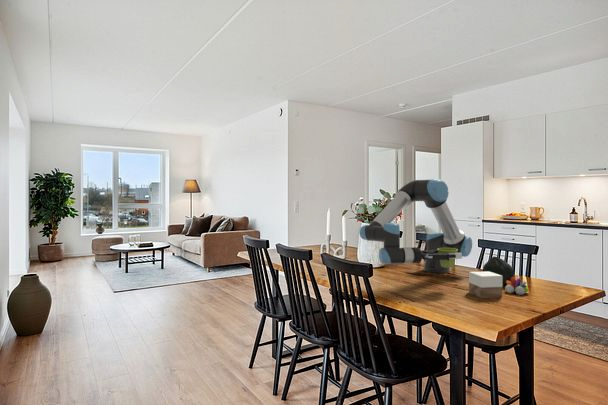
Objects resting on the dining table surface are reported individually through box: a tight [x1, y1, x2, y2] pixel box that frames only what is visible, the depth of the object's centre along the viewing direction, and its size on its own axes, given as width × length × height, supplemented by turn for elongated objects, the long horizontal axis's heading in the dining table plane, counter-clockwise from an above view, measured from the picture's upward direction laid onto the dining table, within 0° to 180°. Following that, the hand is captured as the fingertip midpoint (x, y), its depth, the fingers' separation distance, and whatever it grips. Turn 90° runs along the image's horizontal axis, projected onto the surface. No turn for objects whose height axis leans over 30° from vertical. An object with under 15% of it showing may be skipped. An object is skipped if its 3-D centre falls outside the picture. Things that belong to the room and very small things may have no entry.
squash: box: [481, 256, 515, 286], centre depth 197 cm, size 14×15×15 cm
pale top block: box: [468, 271, 503, 288], centre depth 175 cm, size 10×10×5 cm
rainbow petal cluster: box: [504, 276, 529, 296], centre depth 178 cm, size 8×10×7 cm
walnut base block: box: [468, 282, 503, 299], centre depth 175 cm, size 10×10×5 cm
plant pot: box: [437, 248, 458, 269], centre depth 185 cm, size 9×9×9 cm
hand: (456, 254), depth 185 cm, fingers closed on plant pot, 8 cm apart
